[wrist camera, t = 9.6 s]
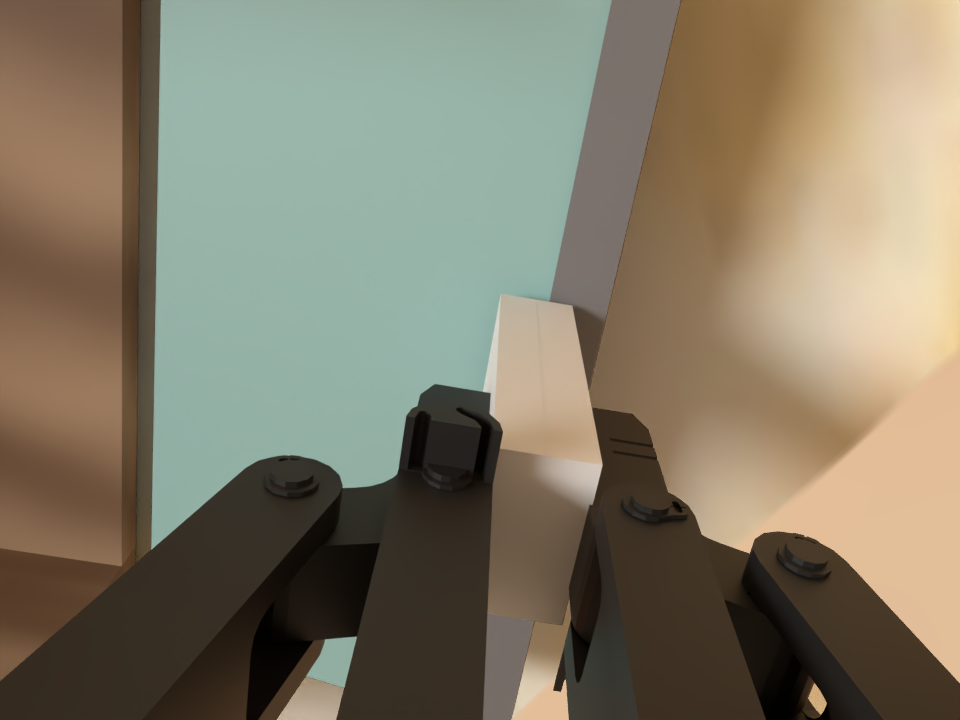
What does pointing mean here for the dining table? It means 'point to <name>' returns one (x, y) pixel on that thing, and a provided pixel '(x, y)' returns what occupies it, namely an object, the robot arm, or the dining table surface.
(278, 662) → the robot arm
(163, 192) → the panel
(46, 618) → the crate
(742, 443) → the dining table surface
